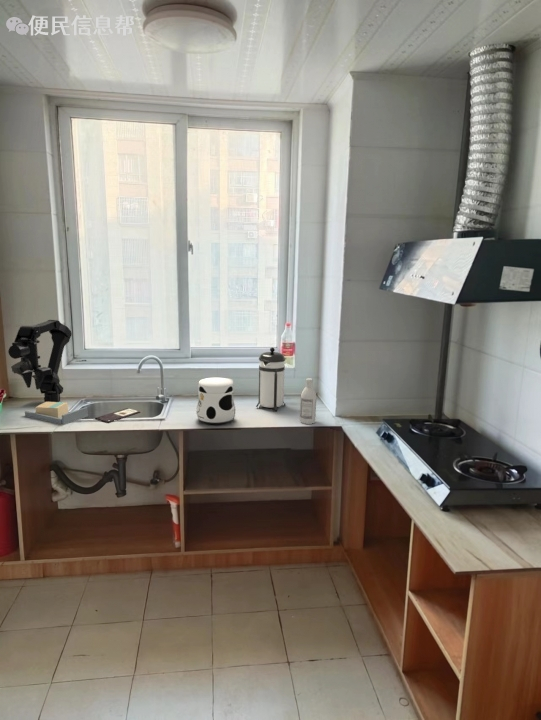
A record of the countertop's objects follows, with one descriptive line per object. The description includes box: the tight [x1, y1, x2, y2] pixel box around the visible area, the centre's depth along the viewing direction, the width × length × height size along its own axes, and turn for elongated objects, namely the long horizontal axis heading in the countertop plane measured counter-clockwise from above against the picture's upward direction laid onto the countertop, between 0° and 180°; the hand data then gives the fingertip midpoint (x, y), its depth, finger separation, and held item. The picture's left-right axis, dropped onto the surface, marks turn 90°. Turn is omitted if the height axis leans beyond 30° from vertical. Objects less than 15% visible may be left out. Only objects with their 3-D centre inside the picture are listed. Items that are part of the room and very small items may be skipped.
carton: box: [35, 401, 69, 418], centre depth 206 cm, size 8×10×5 cm
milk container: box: [196, 377, 236, 425], centre depth 207 cm, size 17×17×18 cm
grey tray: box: [24, 406, 89, 426], centre depth 204 cm, size 13×24×6 cm, turn 65°
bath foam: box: [299, 377, 317, 425], centre depth 208 cm, size 7×7×20 cm
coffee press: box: [255, 347, 286, 412], centre depth 228 cm, size 17×16×30 cm
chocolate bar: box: [94, 408, 141, 424], centre depth 211 cm, size 9×1×18 cm
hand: (33, 388), depth 209 cm, fingers open, 5 cm apart
